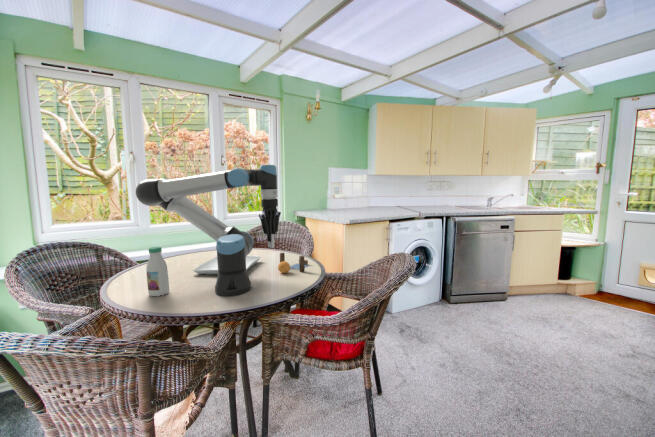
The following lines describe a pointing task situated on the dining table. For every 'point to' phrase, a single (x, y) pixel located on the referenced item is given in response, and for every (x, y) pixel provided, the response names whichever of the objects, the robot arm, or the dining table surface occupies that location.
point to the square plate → (212, 265)
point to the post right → (301, 264)
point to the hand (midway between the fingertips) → (271, 247)
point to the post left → (282, 257)
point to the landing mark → (297, 266)
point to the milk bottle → (157, 273)
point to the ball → (284, 267)
